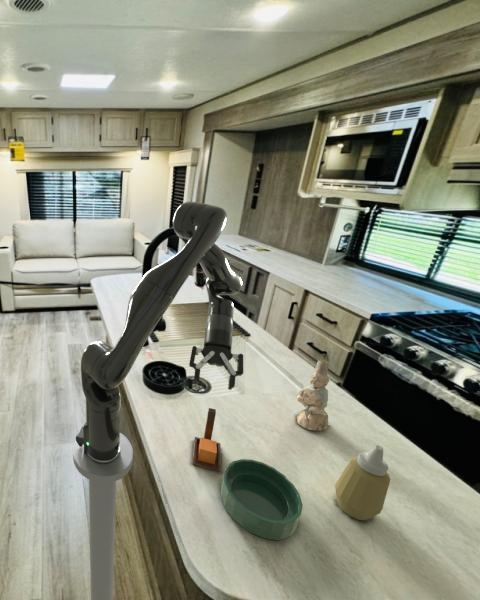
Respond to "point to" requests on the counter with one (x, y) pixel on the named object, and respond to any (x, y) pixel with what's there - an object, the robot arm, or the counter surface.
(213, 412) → the scoop
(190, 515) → the counter surface
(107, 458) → the robot arm
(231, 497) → the green pet bowl
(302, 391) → the figurine
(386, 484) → the squeeze bottle
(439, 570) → the counter surface
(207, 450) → the block
